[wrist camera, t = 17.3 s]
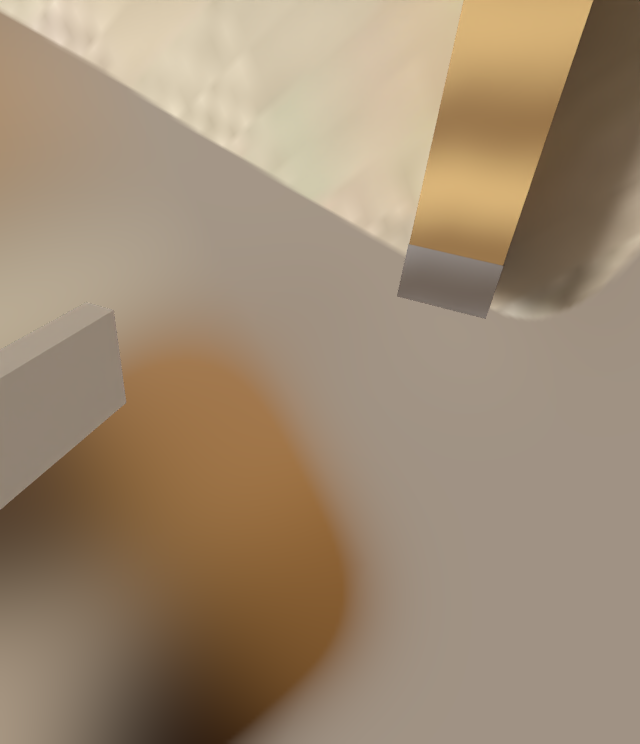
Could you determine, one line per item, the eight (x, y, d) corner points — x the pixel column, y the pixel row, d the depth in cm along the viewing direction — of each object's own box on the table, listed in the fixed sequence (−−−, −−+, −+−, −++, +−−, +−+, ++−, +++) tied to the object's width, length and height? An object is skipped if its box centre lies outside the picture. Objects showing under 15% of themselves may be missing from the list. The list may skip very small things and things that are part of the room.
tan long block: (514, -161, 20) (511, -217, 16) (637, -155, 19) (667, -214, 15) (414, 264, 30) (397, 296, 26) (491, 283, 29) (485, 318, 25)
